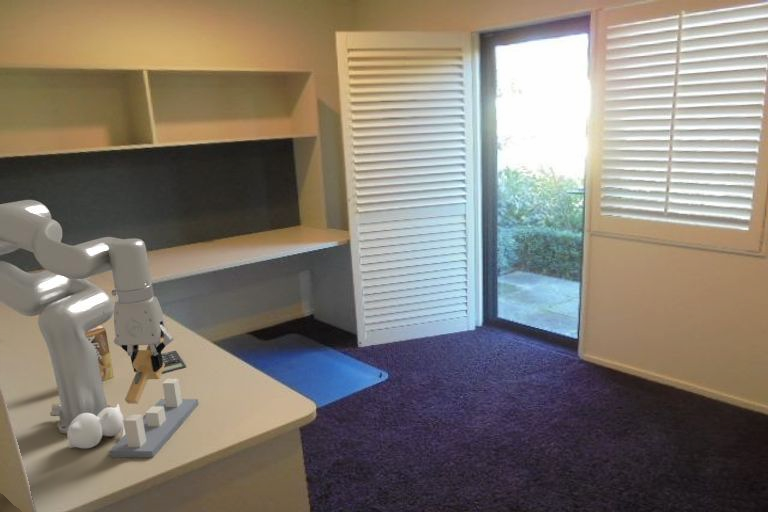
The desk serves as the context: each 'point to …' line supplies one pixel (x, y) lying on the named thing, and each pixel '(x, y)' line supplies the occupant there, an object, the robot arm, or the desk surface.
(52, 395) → the desk surface
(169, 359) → the calculator
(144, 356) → the tan bar with handles
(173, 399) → the display stand
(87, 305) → the robot arm
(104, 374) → the candy box
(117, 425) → the cat figurine
